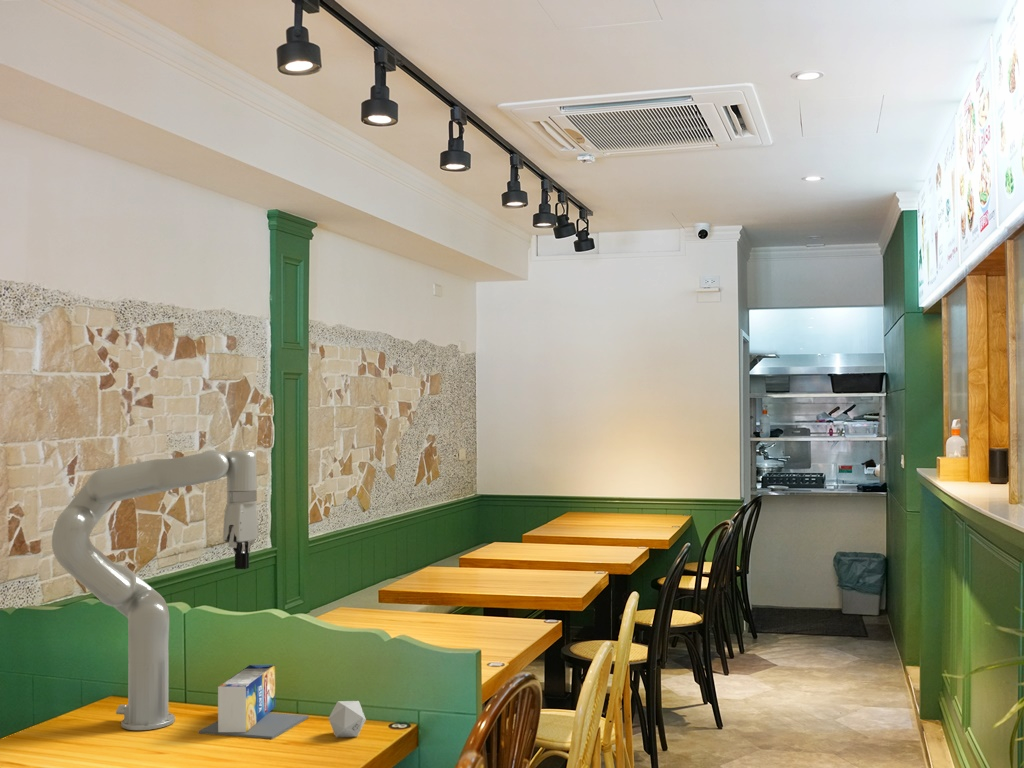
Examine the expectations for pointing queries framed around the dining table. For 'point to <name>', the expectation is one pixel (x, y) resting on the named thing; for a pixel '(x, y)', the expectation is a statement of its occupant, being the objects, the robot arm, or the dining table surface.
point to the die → (347, 719)
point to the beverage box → (246, 698)
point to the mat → (262, 726)
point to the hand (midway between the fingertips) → (242, 568)
